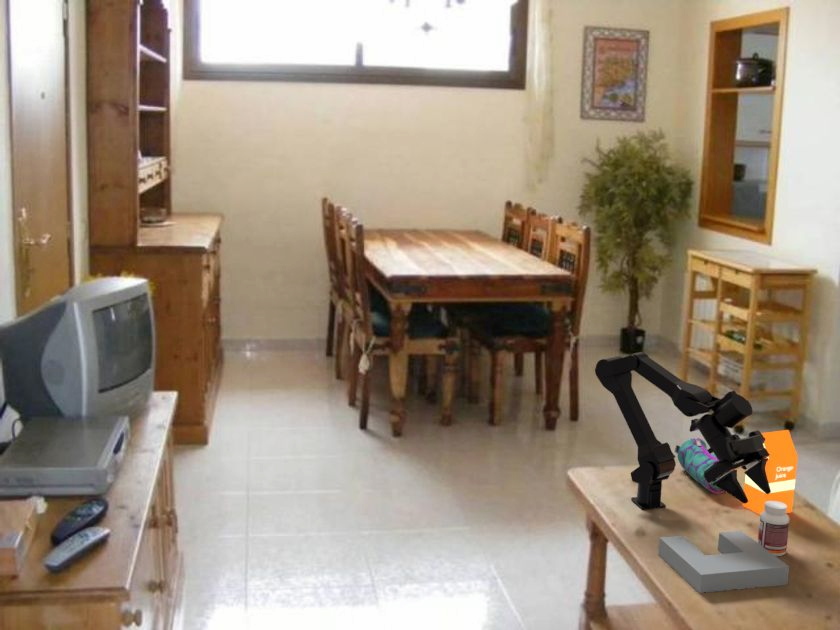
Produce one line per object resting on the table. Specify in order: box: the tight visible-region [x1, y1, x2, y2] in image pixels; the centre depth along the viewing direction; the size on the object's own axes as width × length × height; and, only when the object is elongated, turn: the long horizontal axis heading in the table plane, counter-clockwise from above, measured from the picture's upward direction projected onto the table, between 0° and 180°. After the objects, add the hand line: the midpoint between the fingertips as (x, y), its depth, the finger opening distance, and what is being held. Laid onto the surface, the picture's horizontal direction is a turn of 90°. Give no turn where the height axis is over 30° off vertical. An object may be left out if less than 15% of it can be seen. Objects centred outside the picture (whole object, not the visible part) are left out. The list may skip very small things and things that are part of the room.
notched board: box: [657, 530, 790, 594], centre depth 210 cm, size 18×20×4 cm
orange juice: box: [742, 429, 799, 516], centre depth 242 cm, size 8×9×20 cm
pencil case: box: [674, 436, 734, 495], centre depth 261 cm, size 21×9×10 cm, turn 7°
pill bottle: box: [756, 501, 790, 557], centre depth 219 cm, size 6×6×11 cm
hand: (758, 497), depth 221 cm, fingers open, 9 cm apart
